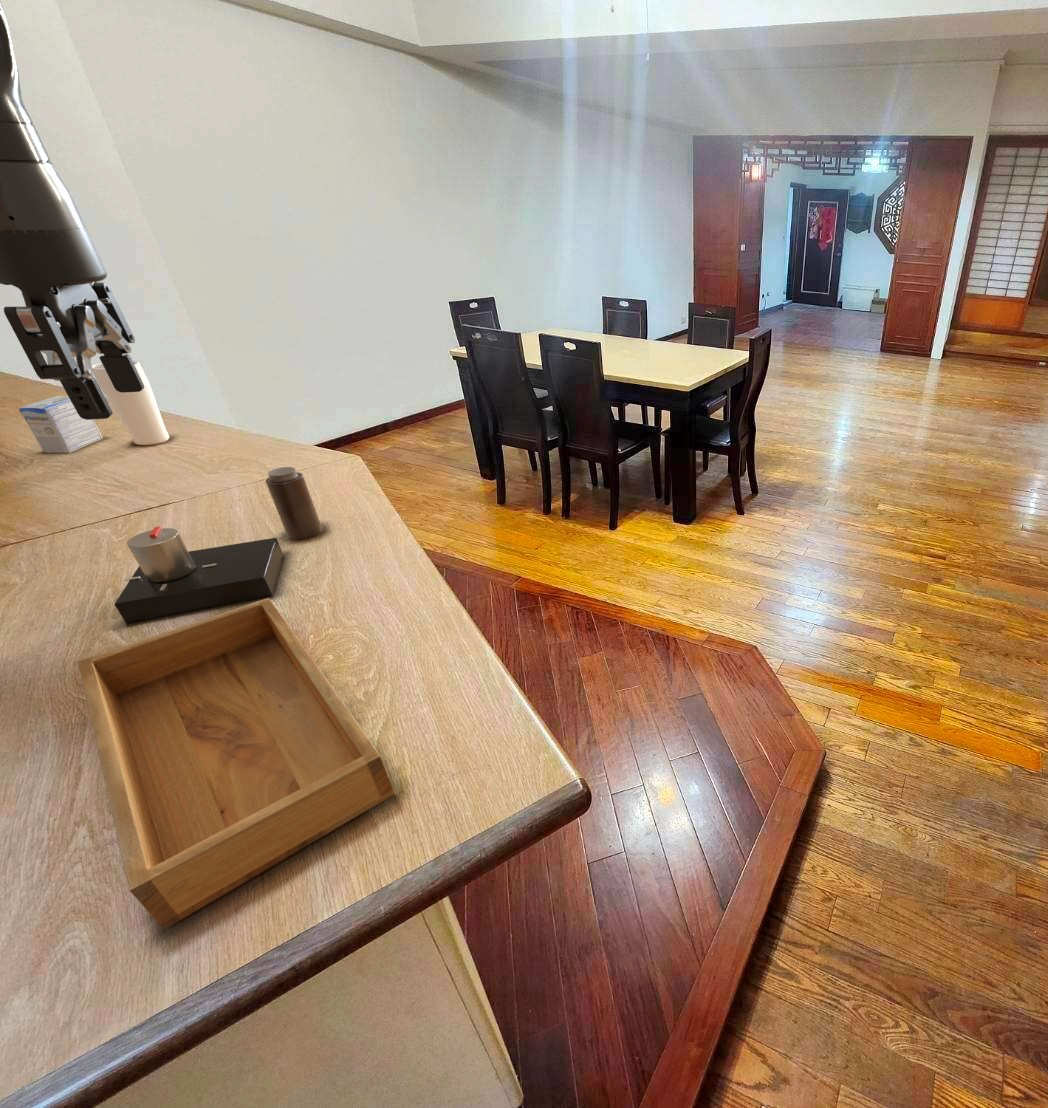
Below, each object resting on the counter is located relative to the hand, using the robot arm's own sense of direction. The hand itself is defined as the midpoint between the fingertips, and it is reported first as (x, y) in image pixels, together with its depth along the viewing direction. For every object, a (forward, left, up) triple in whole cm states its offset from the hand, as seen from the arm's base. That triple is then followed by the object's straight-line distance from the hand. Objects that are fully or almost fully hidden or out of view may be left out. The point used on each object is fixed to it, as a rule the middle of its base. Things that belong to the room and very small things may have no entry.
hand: (116, 403), depth 60 cm
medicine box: (-34, +73, -25) cm, 84 cm away
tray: (+7, -28, -25) cm, 38 cm away
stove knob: (-4, +5, -22) cm, 23 cm away
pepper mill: (+8, +16, -25) cm, 31 cm away
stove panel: (-1, +5, -25) cm, 25 cm away
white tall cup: (-22, +71, -25) cm, 78 cm away
